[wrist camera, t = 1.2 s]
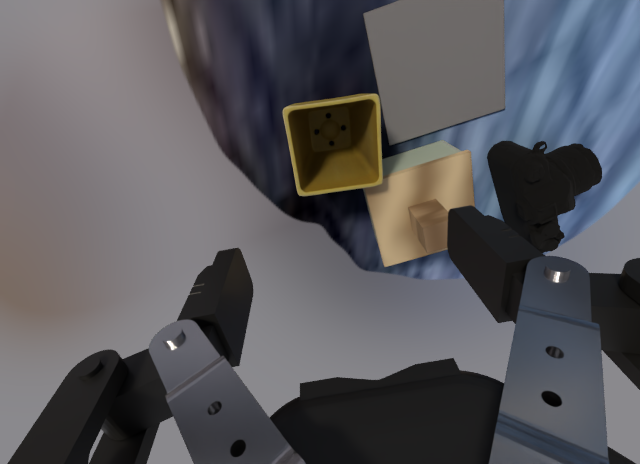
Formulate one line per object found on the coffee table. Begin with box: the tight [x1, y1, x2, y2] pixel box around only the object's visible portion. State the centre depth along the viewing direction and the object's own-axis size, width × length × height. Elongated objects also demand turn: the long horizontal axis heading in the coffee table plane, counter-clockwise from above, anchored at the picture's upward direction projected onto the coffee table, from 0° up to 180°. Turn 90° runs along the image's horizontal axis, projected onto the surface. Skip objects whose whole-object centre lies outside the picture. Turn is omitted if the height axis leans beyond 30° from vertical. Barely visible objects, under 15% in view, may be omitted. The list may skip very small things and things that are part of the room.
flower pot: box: [283, 94, 383, 196], centre depth 34 cm, size 9×9×9 cm
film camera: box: [487, 141, 602, 253], centre depth 38 cm, size 15×10×9 cm, turn 28°
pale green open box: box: [363, 140, 462, 242], centre depth 40 cm, size 11×11×6 cm
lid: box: [364, 150, 475, 267], centre depth 35 cm, size 12×12×7 cm
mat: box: [363, 0, 505, 145], centre depth 35 cm, size 14×14×1 cm
